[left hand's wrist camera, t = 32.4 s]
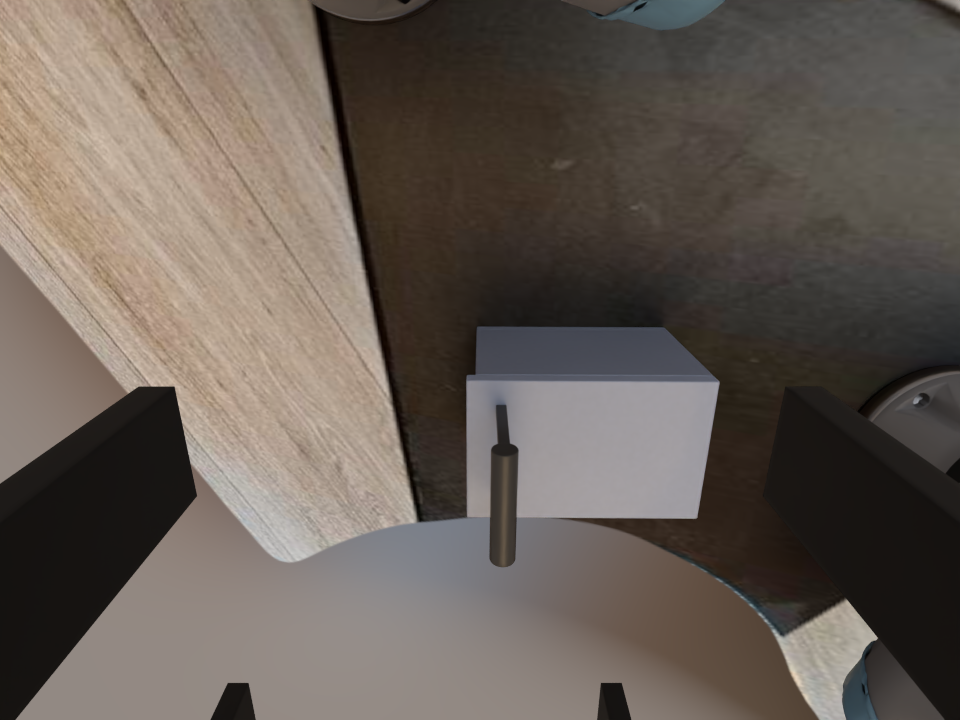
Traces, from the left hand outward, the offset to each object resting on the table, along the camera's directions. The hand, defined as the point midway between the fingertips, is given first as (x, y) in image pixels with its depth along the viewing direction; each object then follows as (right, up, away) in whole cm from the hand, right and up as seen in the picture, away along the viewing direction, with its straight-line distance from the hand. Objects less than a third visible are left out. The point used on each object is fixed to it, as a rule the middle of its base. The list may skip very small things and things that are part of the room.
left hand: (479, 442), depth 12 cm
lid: (+7, -4, +28) cm, 29 cm away
